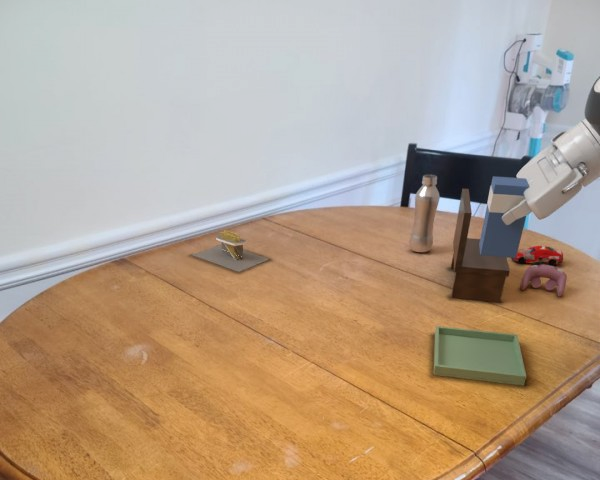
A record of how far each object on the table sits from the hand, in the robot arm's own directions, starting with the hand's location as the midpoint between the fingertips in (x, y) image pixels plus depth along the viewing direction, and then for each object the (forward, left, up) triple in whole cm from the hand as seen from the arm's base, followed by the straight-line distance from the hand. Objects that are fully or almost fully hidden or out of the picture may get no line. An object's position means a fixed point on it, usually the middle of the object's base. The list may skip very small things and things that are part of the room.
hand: (501, 214), depth 97 cm
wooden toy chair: (-2, -34, -27) cm, 44 cm away
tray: (-1, +3, -27) cm, 27 cm away
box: (-1, 0, -6) cm, 6 cm away
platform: (+62, -37, -27) cm, 78 cm away
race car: (-19, -53, -27) cm, 63 cm away
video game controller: (-18, -34, -27) cm, 47 cm away
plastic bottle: (+12, -54, -27) cm, 62 cm away
